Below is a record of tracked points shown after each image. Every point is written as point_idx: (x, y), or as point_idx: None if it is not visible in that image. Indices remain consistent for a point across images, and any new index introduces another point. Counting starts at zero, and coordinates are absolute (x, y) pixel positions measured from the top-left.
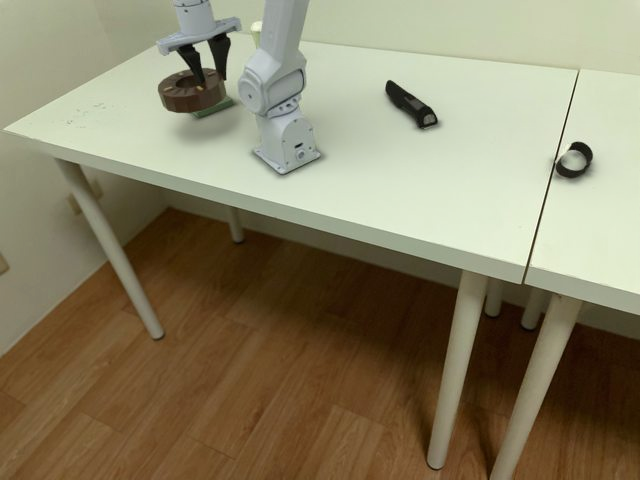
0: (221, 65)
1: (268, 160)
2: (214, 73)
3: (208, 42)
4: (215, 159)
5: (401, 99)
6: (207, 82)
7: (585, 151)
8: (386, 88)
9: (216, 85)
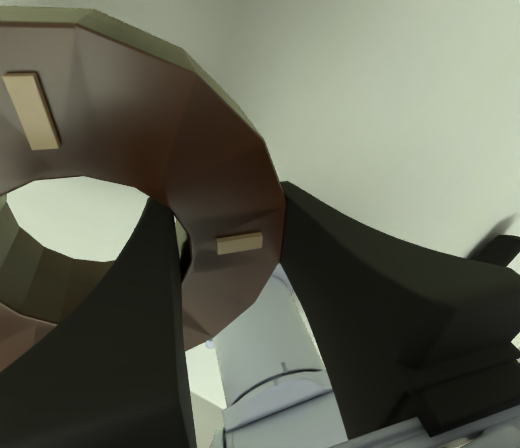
0: (299, 298)
1: None
2: (253, 245)
3: (392, 303)
4: (106, 259)
5: None
6: None
7: None
8: (504, 242)
9: (201, 342)
